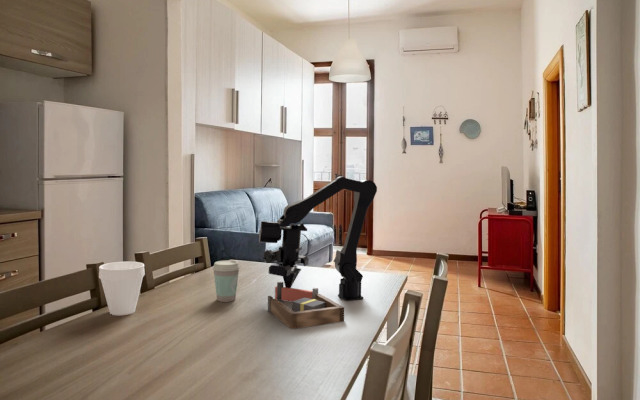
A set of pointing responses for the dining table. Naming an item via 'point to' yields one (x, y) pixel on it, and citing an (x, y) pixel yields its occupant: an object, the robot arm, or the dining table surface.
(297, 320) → the tan frame
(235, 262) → the coffee cup
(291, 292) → the gate
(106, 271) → the cup
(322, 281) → the dining table surface
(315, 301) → the grey taped parcel
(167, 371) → the dining table surface
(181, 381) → the dining table surface
